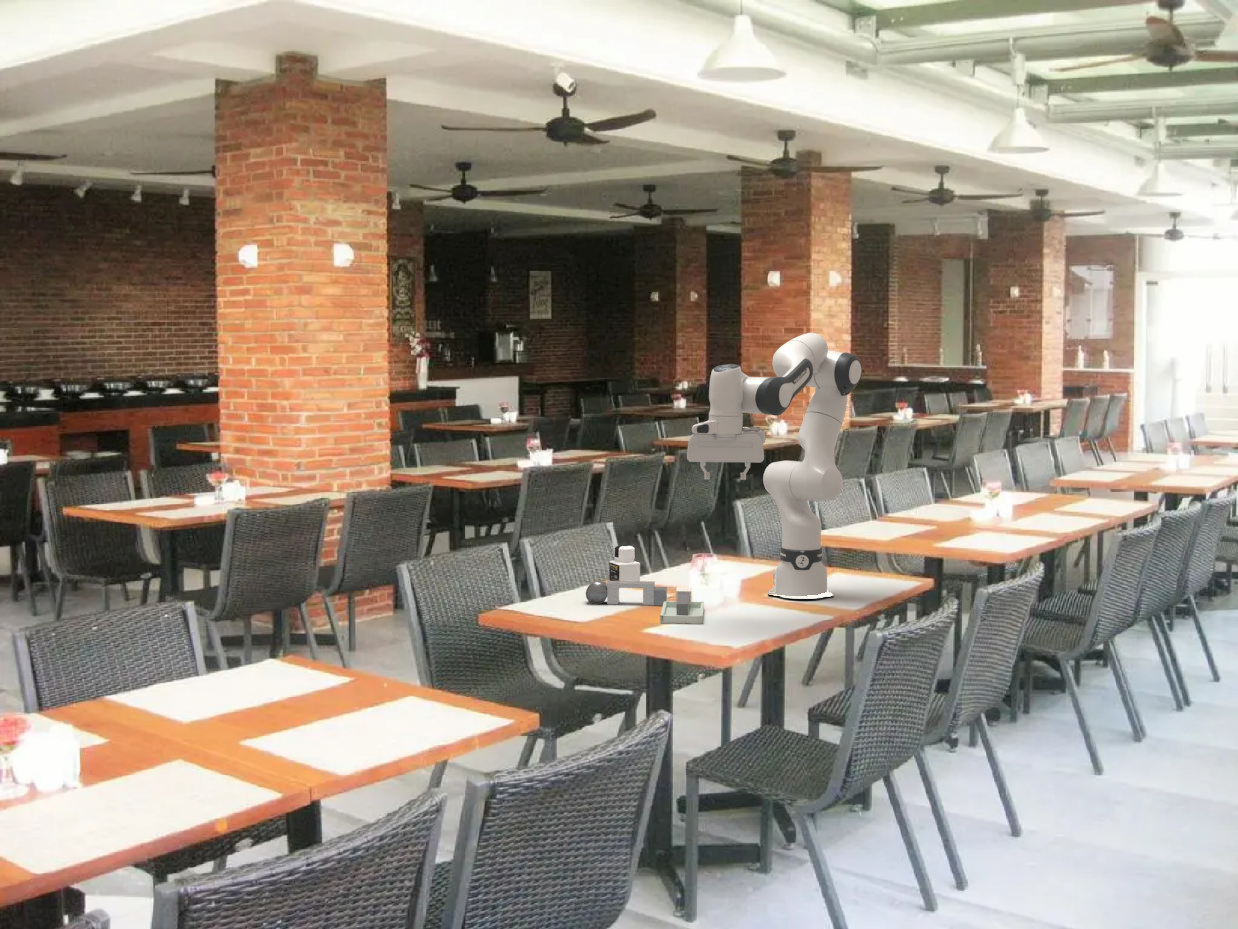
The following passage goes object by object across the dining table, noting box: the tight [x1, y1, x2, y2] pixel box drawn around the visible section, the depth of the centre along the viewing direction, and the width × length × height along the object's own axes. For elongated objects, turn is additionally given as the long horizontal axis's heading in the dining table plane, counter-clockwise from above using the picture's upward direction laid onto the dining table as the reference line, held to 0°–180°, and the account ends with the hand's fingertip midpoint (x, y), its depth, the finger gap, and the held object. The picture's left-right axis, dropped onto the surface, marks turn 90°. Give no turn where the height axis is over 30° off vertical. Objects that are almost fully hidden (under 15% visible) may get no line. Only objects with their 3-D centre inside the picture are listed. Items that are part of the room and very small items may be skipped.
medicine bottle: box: [608, 544, 641, 581], centre depth 401 cm, size 7×7×12 cm
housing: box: [585, 579, 668, 607], centre depth 373 cm, size 5×22×6 cm, turn 85°
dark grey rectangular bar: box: [675, 586, 692, 616], centre depth 358 cm, size 14×4×4 cm, turn 175°
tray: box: [659, 600, 705, 625], centre depth 356 cm, size 20×11×2 cm, turn 175°
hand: (725, 479), depth 349 cm, fingers open, 8 cm apart
